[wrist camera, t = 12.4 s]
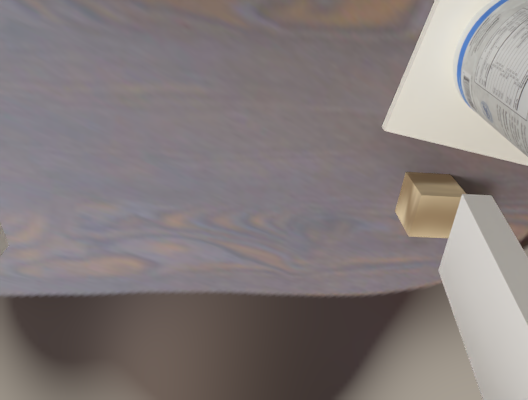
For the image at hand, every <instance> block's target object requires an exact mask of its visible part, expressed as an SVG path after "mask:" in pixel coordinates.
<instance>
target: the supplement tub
mask: <svg viewBox="0 0 528 400" xmlns="http://www.w3.org/2000/svg"><path fill="white" fill-rule="evenodd" d="M453 78H454V82H455V86H456V89H457V91H458V93H459V95H460V97H461V98H462V99H463V101H464V102H465V103H466V104H467V105H468V106H469V107H470V108H471V109H472V110H473V111H475V112H476V113H477V114H478V115H479V116H481V117H482V118H483V119H484V120H485V121H486V122H487V123H489V124H490V125H491V126H492V127H493V128H494V129H496V130H497V131H498V132H499V133H500V134H501V135H503V136H504V137H505V138H506V139H507V140H508V141H510V142H511V143H512V144H513V145H514V146H515V147H517V148H518V149H519V150H520V151H521V152H522V153H524V154H525V155H526V156H527V157H528V0H492V1H491V2H489V3H488V4H487V5H485V6H484V7H483V8H482V9H481V10H480V11H479V12H478V13H477V14H476V15H475V16H474V17H473V18H472V20H471V21H470V22H469V23H468V25H467V26H466V28H465V29H464V31H463V33H462V35H461V37H460V39H459V41H458V44H457V47H456V50H455V54H454V59H453Z"/></svg>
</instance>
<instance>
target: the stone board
mask: <svg viewBox="0 0 528 400" xmlns="http://www.w3.org/2000/svg"><path fill="white" fill-rule="evenodd" d="M491 1H492V0H435V1H434V4H433V6H432V8H431V11H430V13H429V15H428V18H427V20H426V23H425V25H424V27H423V30H422V32H421V34H420V37H419V39H418V42H417V44H416V46H415V49H414V51H413V54H412V56H411V58H410V61H409V63H408V65H407V68H406V70H405V73H404V75H403V77H402V80H401V82H400V85H399V87H398V89H397V92H396V94H395V96H394V99H393V101H392V104H391V106H390V108H389V111H388V113H387V115H386V118H385V120H384V123H383V125H382V128H383V129H384V131H388V132H392V133H396V134H400V135H404V136H408V137H412V138H416V139H420V140H424V141H429V142H433V143H437V144H441V145H445V146H449V147H453V148H457V149H461V150H465V151H470V152H474V153H478V154H482V155H486V156H490V157H494V158H498V159H502V160H506V161H511V162H515V163H519V164H523V165H527V166H528V157H527V156H526V155H525V154H524V153H522V152H521V151H520V150H519V149H518V148H517V147H515V146H514V145H513V144H512V143H511V142H510V141H508V140H507V139H506V138H505V137H504V136H503V135H501V134H500V133H499V132H498V131H497V130H496V129H494V128H493V127H492V126H491V125H490V124H489V123H487V122H486V121H485V120H484V119H483V118H482V117H481V116H479V115H478V114H477V113H476V112H475V111H473V110H472V109H471V108H470V107H469V106H468V105H467V104H466V103H465V102H464V101H463V99H462V98H461V97H460V95H459V93H458V91H457V89H456V86H455V82H454V78H453V59H454V54H455V50H456V47H457V44H458V41H459V39H460V37H461V35H462V33H463V31H464V29H465V28H466V26H467V25H468V23H469V22H470V21H471V20H472V18H473V17H474V16H475V15H476V14H477V13H478V12H479V11H480V10H481V9H482V8H483V7H484V6H485V5H487V4H488V3H489V2H491Z"/></svg>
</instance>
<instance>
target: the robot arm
mask: <svg viewBox="0 0 528 400" xmlns="http://www.w3.org/2000/svg"><path fill="white" fill-rule="evenodd" d="M8 246H9V245H8V242H7V240H6V237H5V234H4V231H3V229H2V226H1V223H0V256H1V255H2V254H3V252H4V251H5V250H6V248H7V247H8ZM439 273H440V276H441V279H442V282H443V285H444V288H445V291H446V294H447V297H448V299H449V302H450V305H451V308H452V311H453V314H454V317H455V320H456V323H457V325H458V329H459V331H460V334H461V337H462V340H463V343H464V346H465V349H466V352H467V355H468V357H469V360H470V363H471V366H472V369H473V372H474V375H475V378H476V381H477V384H478V387H479V389H480V392H481V395H482V398H483V400H528V257H527V255H526V254H525V252H524V250H523V248H522V247H521V245H520V243H519V242H518V240H517V238H516V236H515V235H514V233H513V231H512V230H511V228H510V226H509V224H508V223H507V221H506V219H505V218H504V216H503V214H502V213H501V211H500V209H499V207H498V206H497V204H496V202H495V201H494V199H493V197H492V195H474V194H462V196H461V200H460V203H459V206H458V209H457V212H456V216H455V219H454V222H453V225H452V228H451V232H450V235H449V238H448V241H447V245H446V248H445V251H444V254H443V257H442V261H441V264H440V267H439Z"/></svg>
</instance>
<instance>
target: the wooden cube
mask: <svg viewBox="0 0 528 400" xmlns="http://www.w3.org/2000/svg"><path fill="white" fill-rule="evenodd" d="M462 194H466V193H465V192H464V190H463V189H462V188H461V187H460V186H459V184H458V183H457V182H456V181H455V180H454V178H453V177H452V176H451V175H450V174H433V173H415V172H406V173H405V177H404V181H403V184H402V188H401V192H400V195H399V199H398V203H397V206H396V210H395V212H396V214H397V216H398V217H399V219H400V221H401V223H402V225H403V227H404V228H405V230H406V232H407V234H408V236H409V237H433V238H449V235H450V232H451V228H452V225H453V222H454V219H455V216H456V212H457V209H458V206H459V203H460V200H461V196H462Z"/></svg>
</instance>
